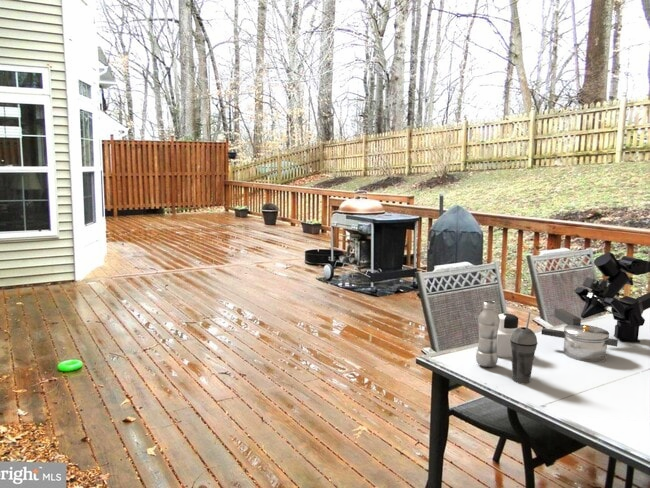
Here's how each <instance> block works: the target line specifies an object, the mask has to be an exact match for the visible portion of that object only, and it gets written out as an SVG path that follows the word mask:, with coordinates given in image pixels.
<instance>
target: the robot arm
mask: <svg viewBox="0 0 650 488" xmlns="http://www.w3.org/2000/svg"><path fill="white" fill-rule="evenodd" d="M593 264H594V266H595V267H596V268H597V269H598V271H599V272H600V273H601V274H602V275H603V276H604V277H606V279H601V278H599V279H598V280H597V279H595V278H591V277H588V276H586V278H585V280H584V281H583V284H582V286H583V287H582V286H577V287H576V288H575V289H574V290H573V291H574V293H575V294H576V295H577V296H578V297H579V298H580V300H581V302H583V303H585V304H584V307H583V309H582V312H581V314H580V317H581V319H583V320H584V319H587V318H590V317H592V316H595V315H599V314H601V313H606V312H608V310H607V309H608V308H610V311H611V314H612V316H613V320H614V321H616V324H615V325H614V334H613V337H615V339H617V340H618V341H620V342H629V343H641V341H640V339H639V334H640V333H639V332H640V327H641V326H644V324H645V321H646V320H645V318H644V317H643V316H642V315H643V313H644V311H645V310H649V309H650V292H648V293H645V294H642V295H640V296H638V297H636V298H635V297H632V296H628V295H625V296H622V297H621V298H616V297H619V296H620V295H621V293H620V291H621V290H622V289H623V288H624V287H625V286H626V285H629V286H634V280H633V279H634V278H633V276H629V275H628V274H630V275H635V276H641V275H645V274H647V273H650V260H645V259H641V258H636V257H632V256H628V255H627V256H622V257H621V258H620V259H617V258H616V256H615V254H614V253H613V252H609V251H607V252H606V253H604V254H601V255H599V256H597V257H596V258H595V259H594V261H593ZM585 287H587V288H589V289H587V288H585Z"/></svg>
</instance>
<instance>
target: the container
mask: <svg viewBox="0 0 650 488" xmlns="http://www.w3.org/2000/svg"><path fill="white" fill-rule="evenodd" d="M498 316H499V318H500V323H499V328H498V334H497V354H498V358H512V348H511V341H510V339H511V336H512V333H513V332H514V331H515V330H516V329H518V328H519V327H518V326H519V318H518V316H517V315H515V314H513V313H512V314H511V313H500V314H498Z"/></svg>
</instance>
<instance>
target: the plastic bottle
mask: <svg viewBox="0 0 650 488" xmlns="http://www.w3.org/2000/svg"><path fill="white" fill-rule="evenodd" d="M482 308H483V310H482V311H481V312H480V313H479V315H478V318H477V325H478V335H479V336H478V345H477V350H476V352H475V353H476V354H475V361H476V363H477V365H479V366H482V367H485V368H494V367H495V366H496V365H498V361H499V360H498V359H499V357H498V354H497V334H498V328H499V323H500V318H499V316H498V315H499V314H498V313H497V302H495V301H492V300H484V301H483V306H482Z"/></svg>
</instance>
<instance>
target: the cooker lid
mask: <svg viewBox="0 0 650 488" xmlns="http://www.w3.org/2000/svg"><path fill="white" fill-rule="evenodd" d="M553 316H554V318H556V319H557V320H559V321H561V322H562V323H564V324H566V325H565V326H564V327H563V331H564V332H565V333H566V334H567V335H569V336H572V337H575V338H579V339H584V340H593V341H600V340H606V339H608V338H609V336H610V332H609V331H608V330H606V329H604V328H602V327H598V326H593V325H588V324H582V323H581V321H582V318H580V317H578V316H576V315H575V314H573V313H571V312H569V311H567V310H565V309H564V308H554V315H553Z"/></svg>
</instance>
